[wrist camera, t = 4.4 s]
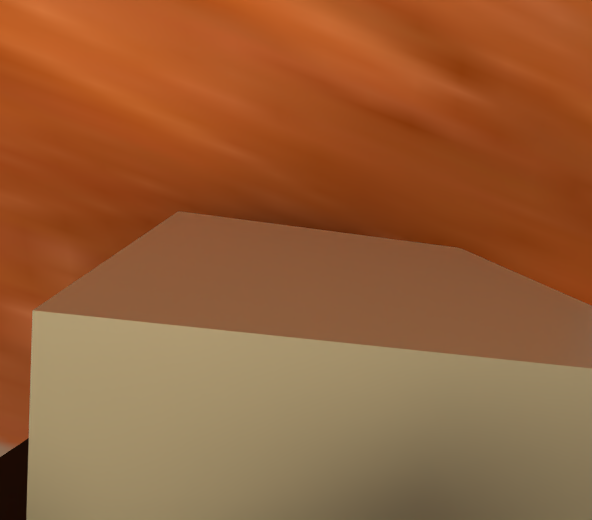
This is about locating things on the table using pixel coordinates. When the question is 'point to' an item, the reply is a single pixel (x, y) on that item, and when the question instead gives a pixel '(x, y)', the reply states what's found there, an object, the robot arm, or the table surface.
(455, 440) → the beige cuboid
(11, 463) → the robot arm
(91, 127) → the table surface
